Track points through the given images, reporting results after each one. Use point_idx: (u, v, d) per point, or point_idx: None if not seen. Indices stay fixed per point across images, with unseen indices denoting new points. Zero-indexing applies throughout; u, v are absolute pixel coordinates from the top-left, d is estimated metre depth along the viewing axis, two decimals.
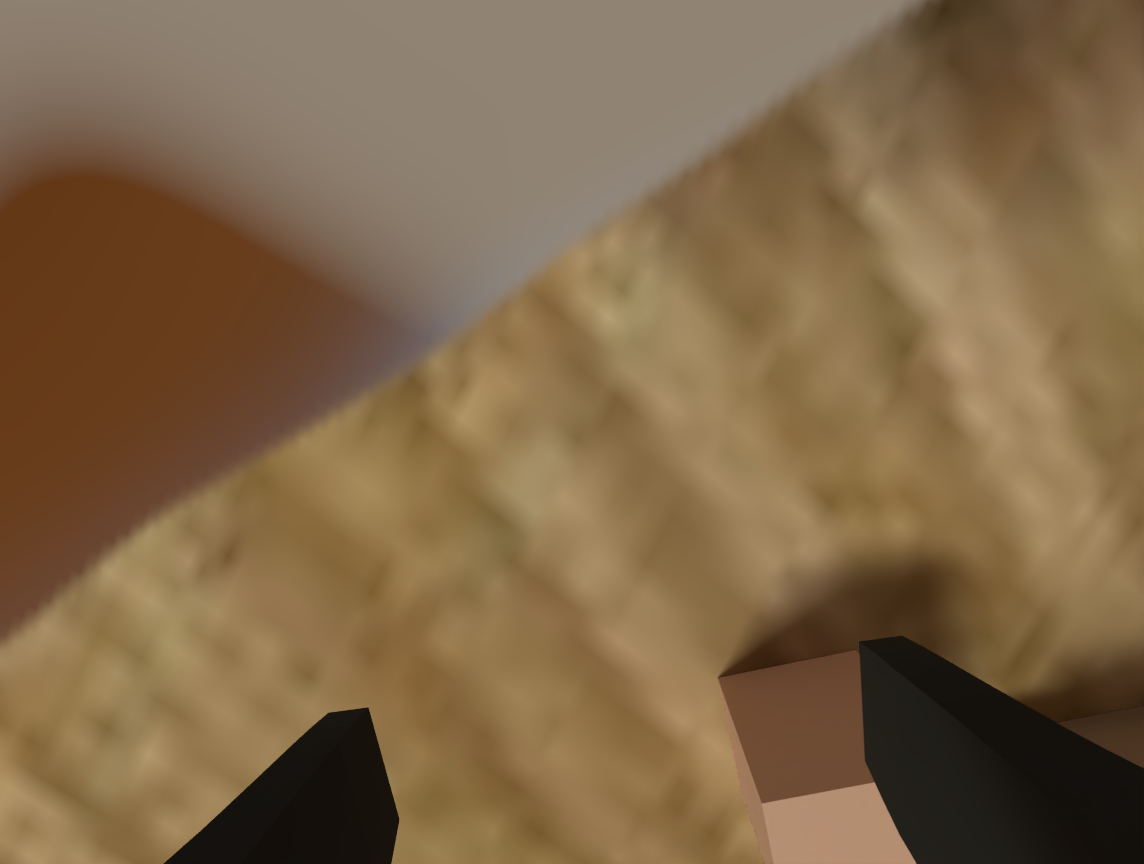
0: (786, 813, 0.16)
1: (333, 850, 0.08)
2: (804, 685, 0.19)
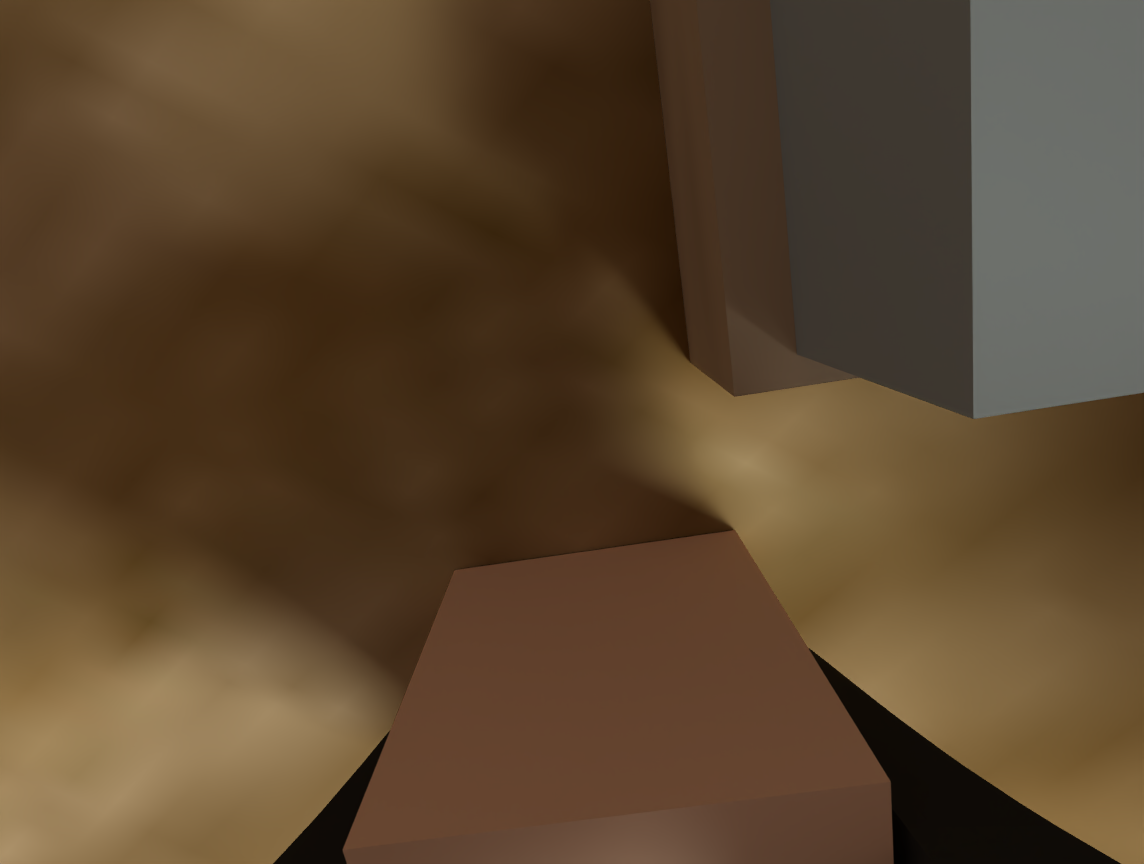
0: None
1: None
2: None
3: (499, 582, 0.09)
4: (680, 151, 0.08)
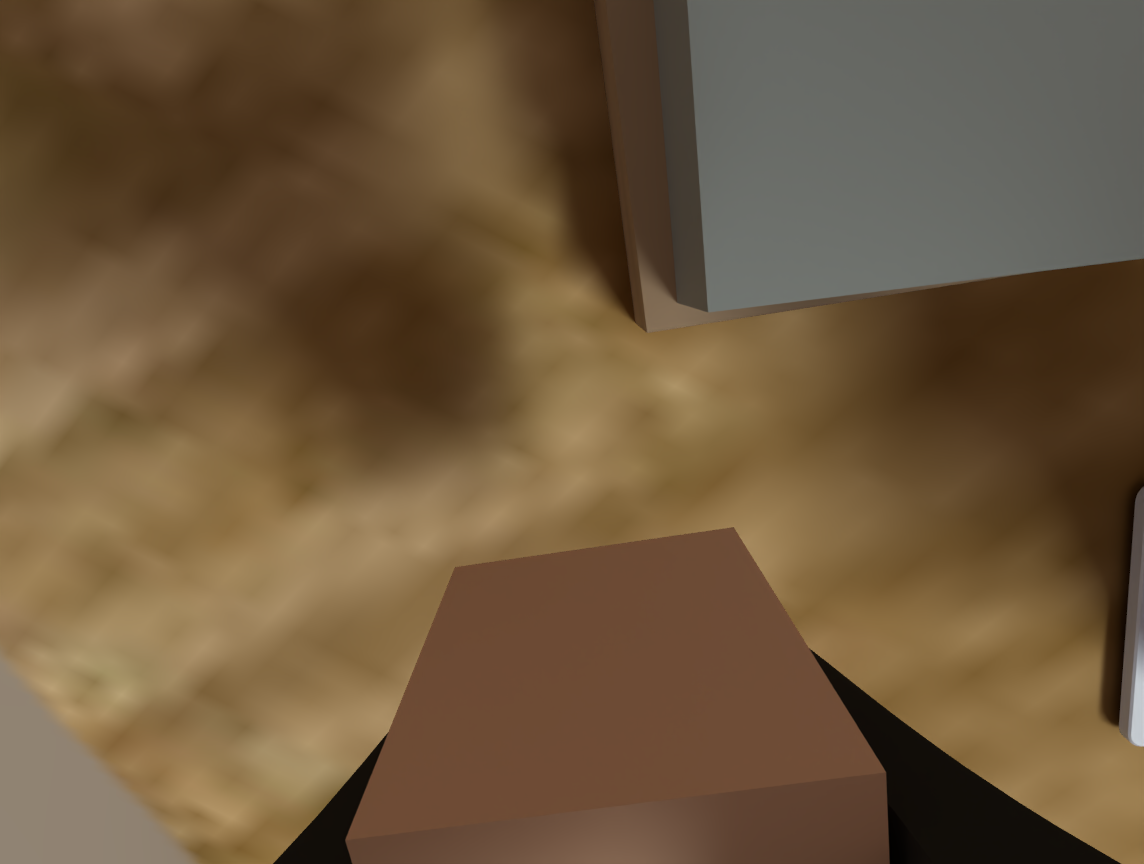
0: None
1: None
2: None
3: (499, 579, 0.09)
4: (623, 203, 0.14)
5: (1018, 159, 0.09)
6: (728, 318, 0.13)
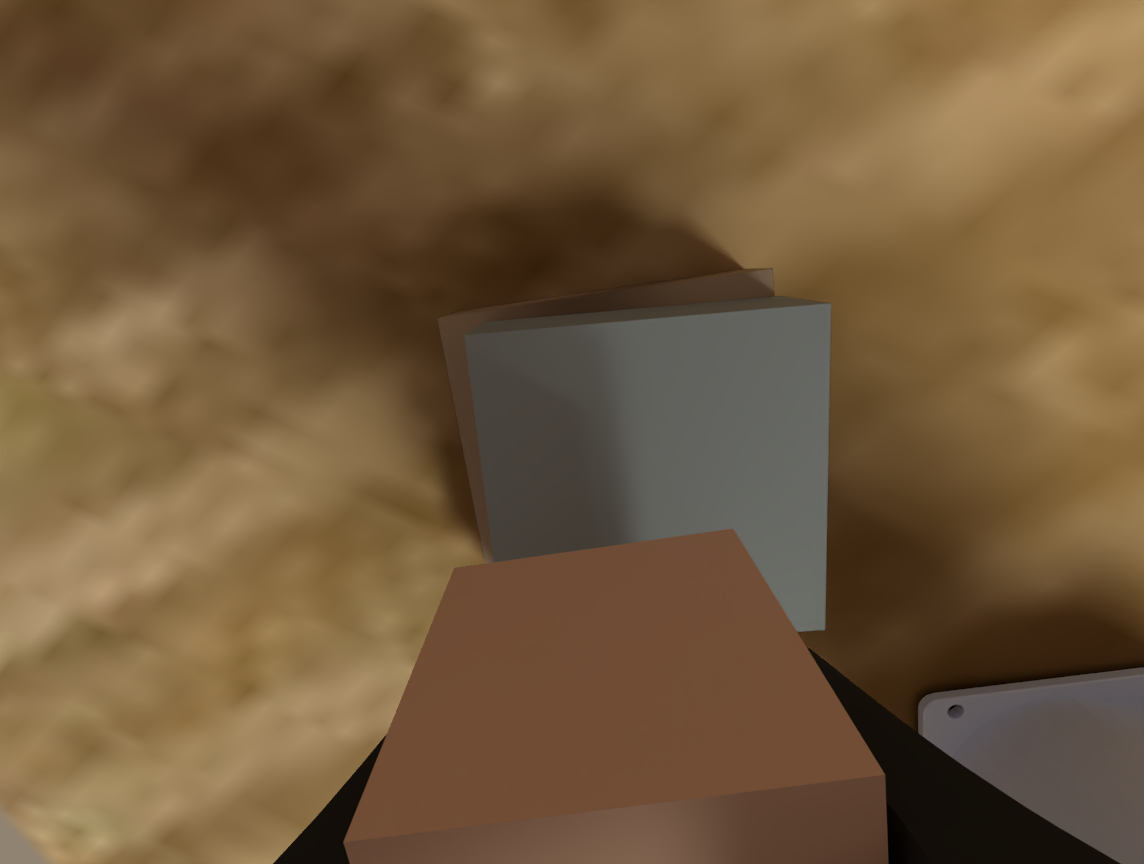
0: None
1: None
2: None
3: (499, 579, 0.09)
4: None
5: None
6: None
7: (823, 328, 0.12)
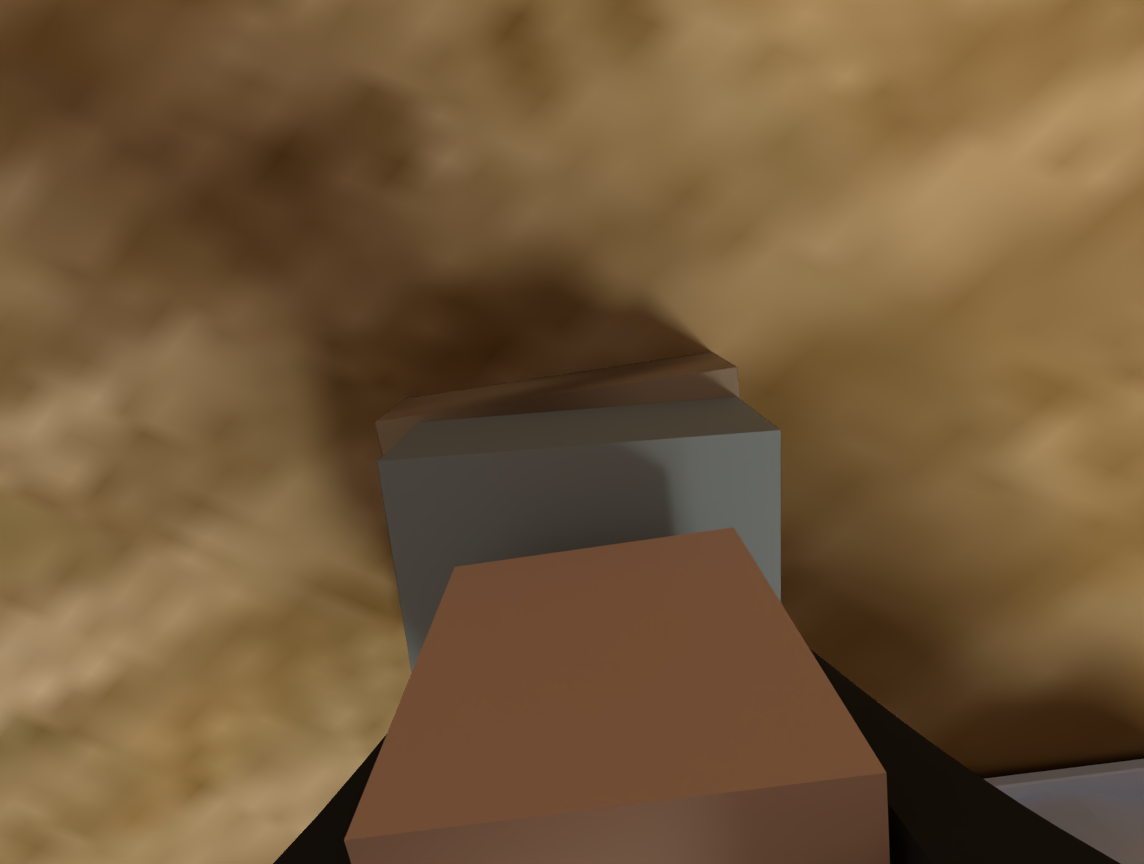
0: None
1: None
2: None
3: (499, 578, 0.09)
4: None
5: None
6: None
7: (773, 456, 0.11)
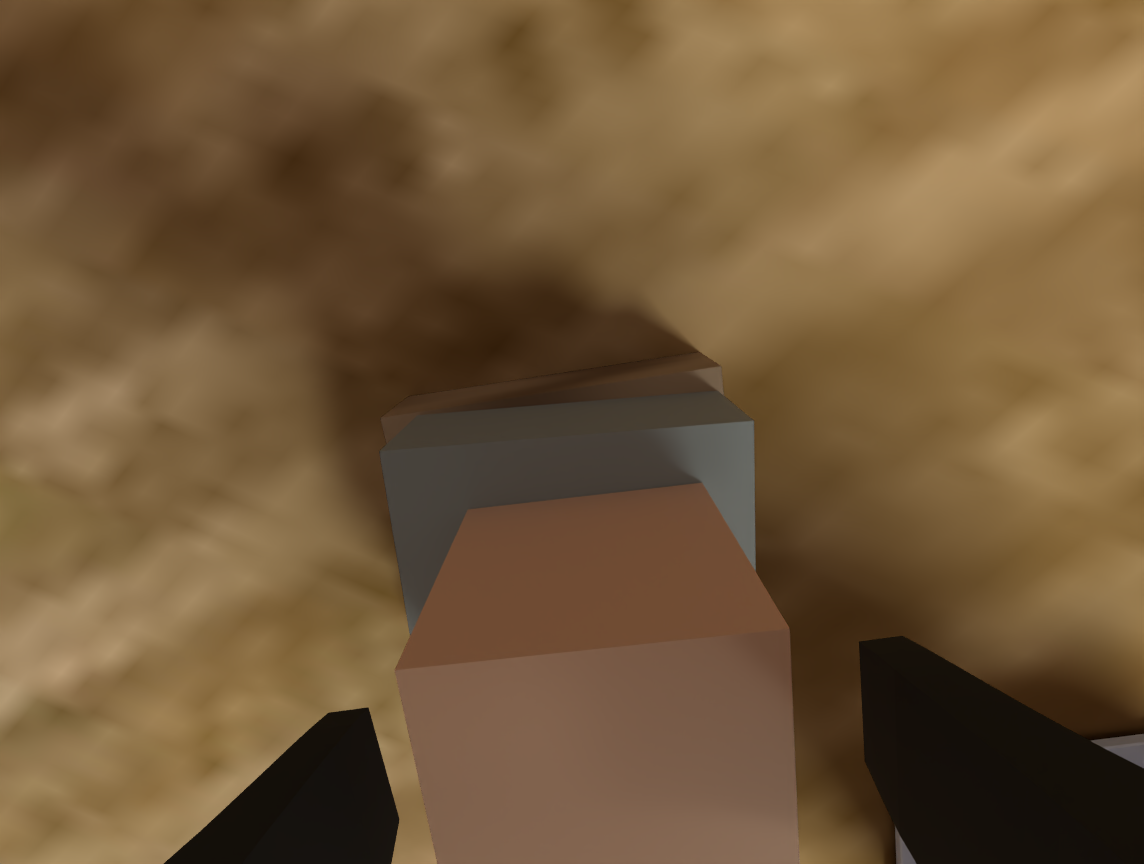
0: None
1: (333, 850, 0.08)
2: None
3: (505, 517, 0.11)
4: None
5: None
6: None
7: (747, 445, 0.12)
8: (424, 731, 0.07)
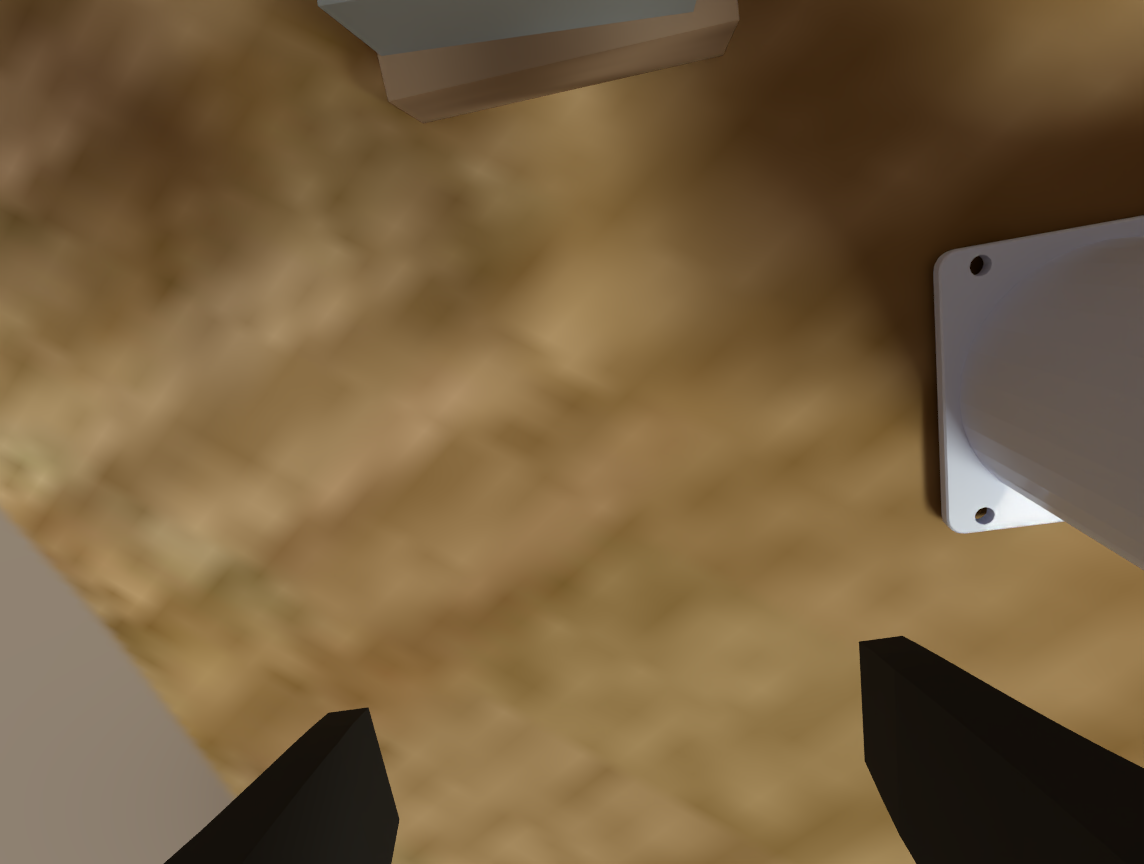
0: None
1: (333, 850, 0.08)
2: None
3: None
4: None
5: None
6: (459, 84, 0.14)
7: None
8: None
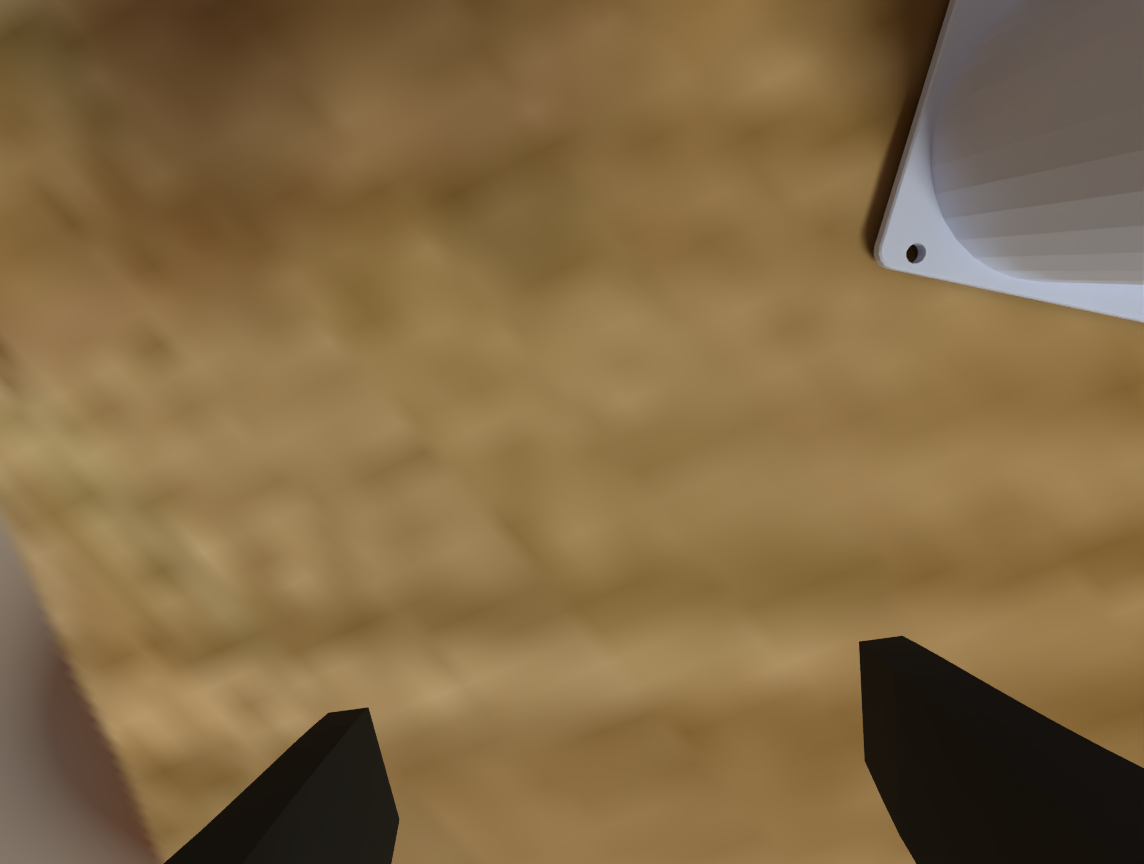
0: None
1: (333, 850, 0.08)
2: None
3: None
4: None
5: None
6: None
7: None
8: None
